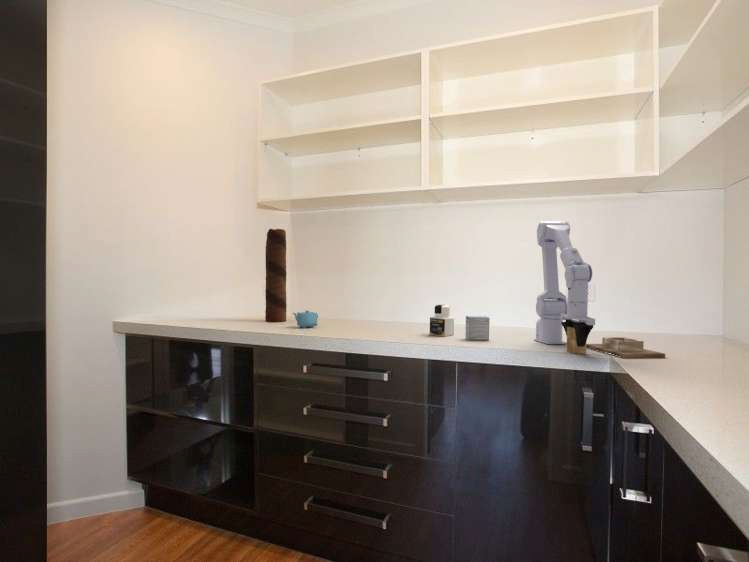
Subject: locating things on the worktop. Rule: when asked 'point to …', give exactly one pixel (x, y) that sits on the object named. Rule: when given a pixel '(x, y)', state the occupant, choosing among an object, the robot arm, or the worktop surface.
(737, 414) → the worktop surface
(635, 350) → the walnut board
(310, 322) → the teapot
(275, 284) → the wafer roll
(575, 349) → the oak peg
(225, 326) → the worktop surface
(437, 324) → the medicine bottle
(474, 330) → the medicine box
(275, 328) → the worktop surface
